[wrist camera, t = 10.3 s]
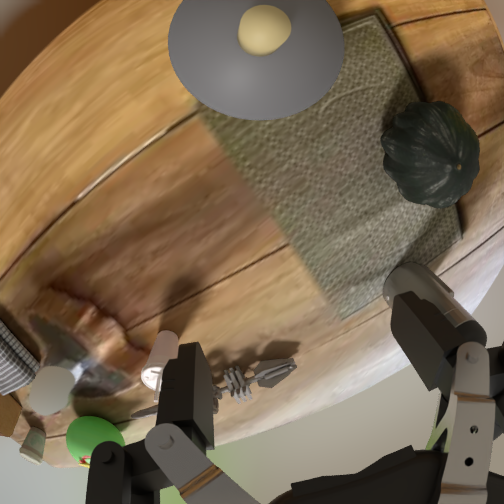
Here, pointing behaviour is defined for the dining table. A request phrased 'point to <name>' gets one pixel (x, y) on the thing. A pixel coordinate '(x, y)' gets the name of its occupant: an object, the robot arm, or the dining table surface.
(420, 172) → the squash
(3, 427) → the bread
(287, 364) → the spaceship
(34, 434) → the coffee cup
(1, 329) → the towel
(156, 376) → the smoothie
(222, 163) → the dining table surface
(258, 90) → the lid
